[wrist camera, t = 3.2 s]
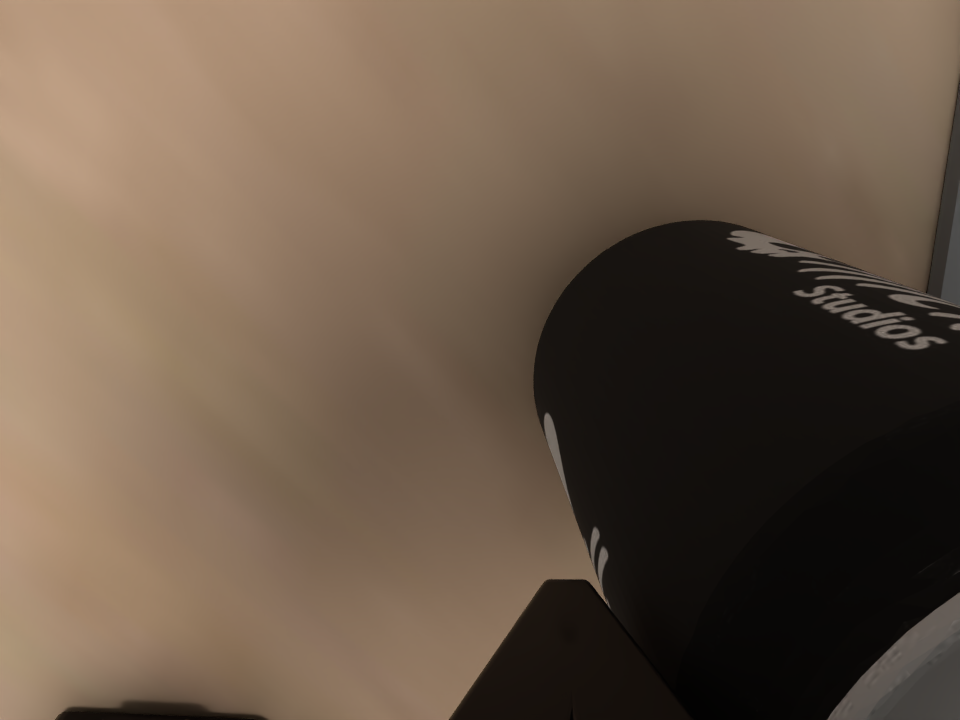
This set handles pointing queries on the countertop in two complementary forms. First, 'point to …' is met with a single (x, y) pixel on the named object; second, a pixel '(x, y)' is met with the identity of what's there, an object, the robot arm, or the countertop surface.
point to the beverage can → (764, 471)
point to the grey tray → (949, 226)
